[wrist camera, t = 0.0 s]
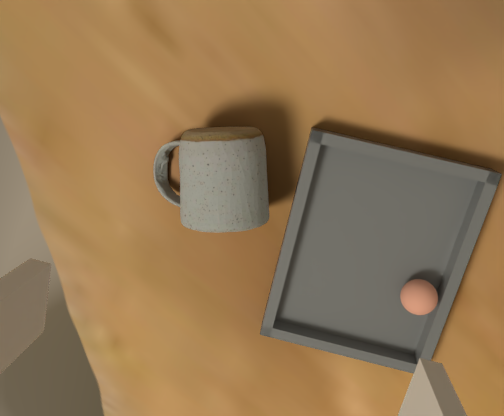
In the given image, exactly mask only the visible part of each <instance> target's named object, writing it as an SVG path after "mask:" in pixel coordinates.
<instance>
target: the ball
mask: <svg viewBox="0 0 504 416" xmlns="http://www.w3.org/2000/svg"><path fill="white" fill-rule="evenodd" d="M400 299H401V303H402V305H403V306H404V308H405V309H406V310H407V311H409V312H410V313H412V314H415V315H425V314H428V313H430V312H431V311H433V310H434V308H435V307H436V305H437V302H438V294H437V291H436V289H435V288H434V286H433V285H432V284H430V283H429V282H428V281H425V280H422V279H414V280H411V281H409V282H407V283H406V284H405V285H404V286H403V288H402V290H401V293H400Z"/></svg>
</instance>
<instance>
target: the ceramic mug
mask: <svg viewBox="0 0 504 416" xmlns="http://www.w3.org/2000/svg"><path fill="white" fill-rule="evenodd" d="M179 145H180V147H179V168H180V196H178V195H177V194H176V193H175V192H174V191H173V190H172V188H171V187H170V185H169V181H168V161H169V156H168V155H169V153H170V151H171V150H172V149H174V148H175V147H176V146H179ZM154 180H155V184H156V186H157V188H158V190H159V192H160V193H161V195H162V196H163V197H164V198H165V199H166V200H168V201H169V202H171V203H172V204H174V205H177V206H179V207H180V216H181V223H182V225H183V226H184V227H187V228H189V229H192V230H197V231H202V232H217V233H218V232H237V231H246V230H250V229H253V228H256V227H260V226H262V225H263V224H265V223H266V222H267V221H268V219H269V202H268V181H267V164H266V147H265V142H264V137H263V134H262V132H261V131H260V130H259V129H258V128H256V127H210V128H197V129H189V130H187V131H185V132H184V133H183V135H182V136H181V140H177V141H173V142H169V143H167V144H165V145H163V146H162V147H161V148H160V150H159V151H158V153H157V154H156V157H155V160H154Z"/></svg>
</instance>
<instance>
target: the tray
mask: <svg viewBox="0 0 504 416" xmlns="http://www.w3.org/2000/svg"><path fill="white" fill-rule="evenodd" d="M501 175H502V174H501V173H499V172H497V171H495V170H493V169H489V168H485V167H481V166H476V165H472V164H468V163H464V162H459V161H455V160H451V159H446V158H442V157H438V156H434V155H429V154H425V153H421V152H416V151H412V150H408V149H403V148H399V147H395V146H391V145H386V144H382V143H378V142H373V141H369V140H365V139H361V138H356V137H352V136H348V135H343V134H339V133H335V132H331V131H326V130H322V129H318V128H313V127H312V128H311V132H310V136H309V140H308V144H307V148H306V152H305V156H304V159H303V163H302V167H301V171H300V175H299V179H298V183H297V187H296V191H295V195H294V199H293V203H292V207H291V211H290V215H289V219H288V222H287V226H286V230H285V234H284V238H283V242H282V246H281V250H280V254H279V258H278V262H277V266H276V270H275V274H274V278H273V282H272V285H271V289H270V293H269V297H268V301H267V305H266V309H265V313H264V317H263V321H262V326H261V332H260V335H264V336H268V337H271V338H275V339H279V340H283V341H287V342H291V343H295V344H299V345H303V346H307V347H311V348H315V349H319V350H323V351H327V352H331V353H335V354H339V355H342V356H346V357H350V358H354V359H358V360H362V361H366V362H370V363H374V364H378V365H382V366H386V367H390V368H394V369H398V370H402V371H406V372H410V373H414V372H415V369H416V366H417V364H418V361H419V358H422V359H426V360H430V361H431V358H432V356H433V353H434V350H435V348H436V345H437V343H438V340H439V337H440V335H441V332H442V329H443V327H444V324H445V322H446V319H447V316H448V314H449V311H450V309H451V306H452V303H453V301H454V298H455V295H456V293H457V290H458V288H459V285H460V282H461V280H462V277H463V275H464V272H465V269H466V267H467V264H468V261H469V259H470V256H471V254H472V251H473V248H474V246H475V243H476V241H477V238H478V235H479V233H480V230H481V227H482V225H483V222H484V220H485V217H486V214H487V212H488V209H489V207H490V204H491V201H492V199H493V196H494V193H495V191H496V188H497V186H498V183H499V180H500V178H501ZM414 279H422V280H425V281H428V282H429V283H430V284H432V285H433V286H434V288H435V289H436V291H437V294H438V302H437V305H436V307H435V308H434V310H433V311H431V312H430V313H428V314H425V315H415V314H412V313H410V312H409V311H407V310H406V309H405V308H404V306H403V305H402V303H401V299H400V293H401V290H402V288H403V286H404V285H405V284H406V283H407V282H409V281H411V280H414Z"/></svg>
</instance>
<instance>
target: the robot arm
mask: <svg viewBox="0 0 504 416" xmlns="http://www.w3.org/2000/svg"><path fill="white" fill-rule="evenodd" d="M50 269H51V264H50V263H46V262H43V261H39V260H35V259H29V260H27V261H26V262H24V263H23V264H21V265H20V266H18V267H17V268H15V269H14V270H12V271H11V272H9V273H8V274H6V275H5V276H3V277H2V278H0V374H1V373H2V372H3V371H4V370H5V369H6V368H7V367H8V366H9V365H10V364H11V363H12V362H13V361H14V360H15V359H16V358H17V357H18V356H19V355H20V354H21V353H22V352H23V351H24V350H25V349H26V348H27V347H28V346H29V345H30V344H31V343H32V342H33V341H34V340H35V339H36V338H37V337H38V336H40V335H41V334H42V333H43V331H44V326H45V316H46V307H47V298H48V288H49V279H50ZM398 416H467V415H466V413H465V411H464V409H463V406H462V404H461V402H460V400H459V398H458V396H457V394H456V392H455V390H454V388H453V386H452V383H451V381H450V379H449V377H448V375H447V373H446V371H445V369H444V367H443V365H442V363H438V362H434V361H430V360H426V359H422V358H419V361H418V364H417V366H416V369H415V372H414V374H413V377H412V380H411V382H410V385H409V388H408V390H407V393H406V395H405V398H404V401H403V403H402V406H401V409H400V411H399V414H398Z"/></svg>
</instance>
